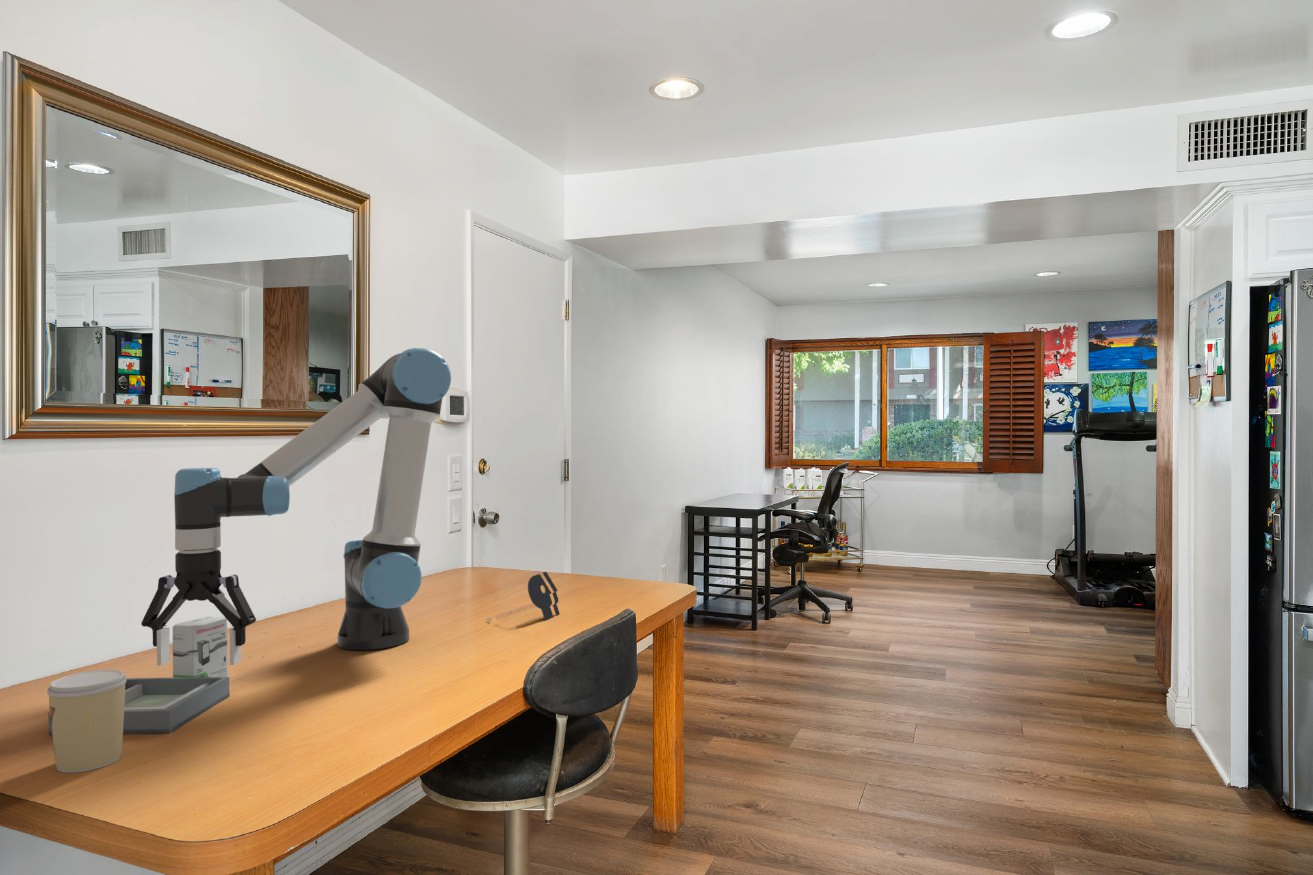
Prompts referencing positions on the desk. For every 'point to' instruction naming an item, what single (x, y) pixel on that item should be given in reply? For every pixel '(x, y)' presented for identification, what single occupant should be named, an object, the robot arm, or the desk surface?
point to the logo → (541, 596)
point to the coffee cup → (87, 719)
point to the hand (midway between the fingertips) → (199, 663)
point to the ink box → (200, 648)
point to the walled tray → (167, 702)
